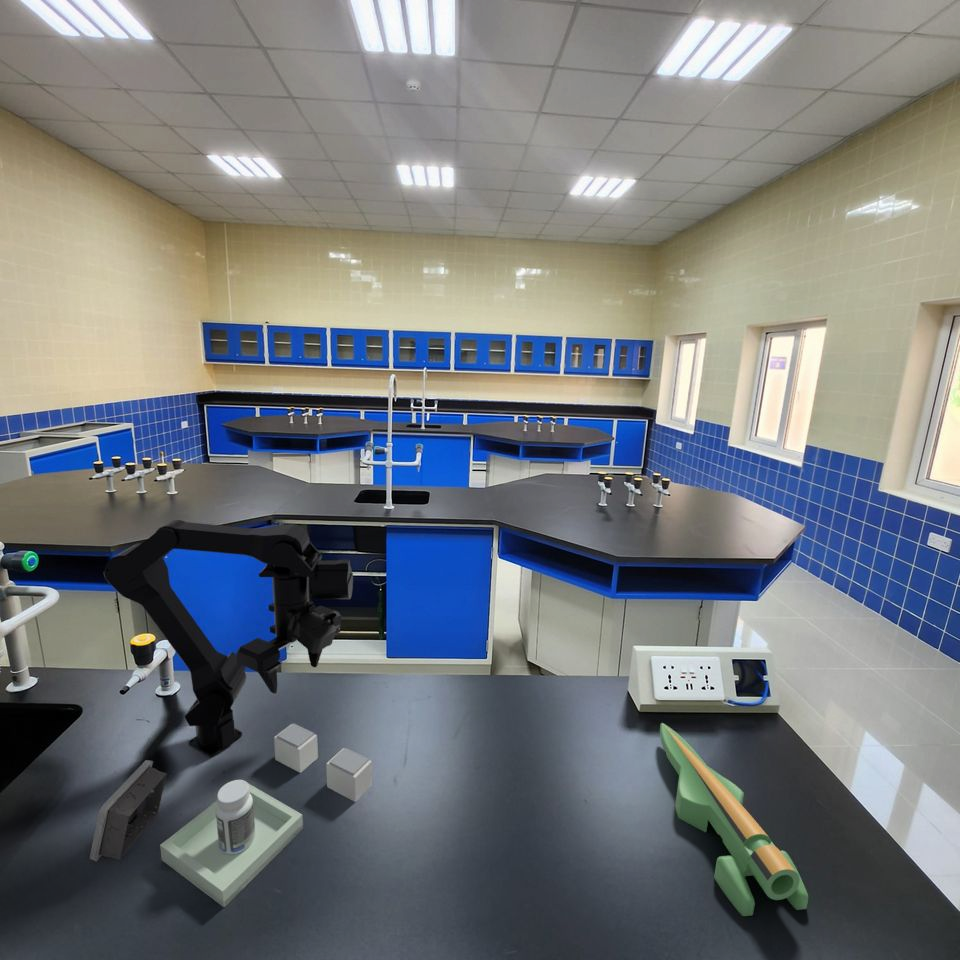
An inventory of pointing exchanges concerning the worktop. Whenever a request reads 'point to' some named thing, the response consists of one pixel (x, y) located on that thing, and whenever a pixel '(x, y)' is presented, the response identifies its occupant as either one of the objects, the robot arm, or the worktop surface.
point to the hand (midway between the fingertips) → (294, 679)
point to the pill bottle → (235, 817)
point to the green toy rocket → (731, 830)
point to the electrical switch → (128, 812)
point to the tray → (230, 873)
